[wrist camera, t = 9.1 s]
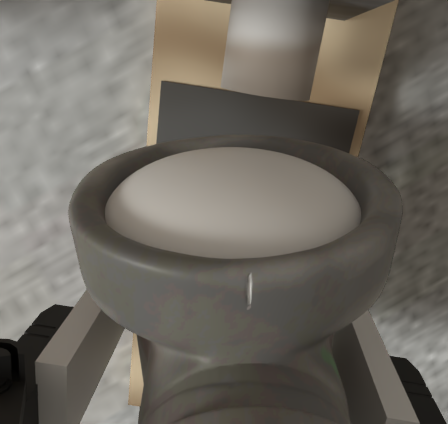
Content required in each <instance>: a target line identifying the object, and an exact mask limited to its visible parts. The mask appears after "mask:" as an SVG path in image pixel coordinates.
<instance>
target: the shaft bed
mask: <svg viewBox="0 0 448 424" xmlns="http://www.w3.org/2000/svg"><path fill="white" fill-rule="evenodd" d="M398 1H399V0H157V6H156V20H155V34H154V48H153V62H152V76H151V90H150V104H149V118H148V133H147V146H150V145H154V144H158V143H163V142H169V141H175V140H182V139H190V138H199V137H209V136H220V135H263V136H275V137H286V138H292V139H298V140H304V141H309V142H313V143H317V144H321V145H325V146H329V147H332V148H335V149H338V150H341V151H344V152H346V153H349V154H351V155H354V156H356V157H358V155H359V152H360V148H361V144H362V140H363V136H364V132H365V128H366V125H367V121H368V117H369V113H370V109H371V105H372V101H373V98H374V94H375V90H376V86H377V82H378V78H379V74H380V70H381V67H382V63H383V59H384V55H385V51H386V47H387V43H388V40H389V36H390V32H391V28H392V24H393V20H394V16H395V13H396V9H397V5H398ZM143 386H144V383H143V376H142V369H141V362H140V355H139V348H138V341H137V334H135V333H133V344H132V358H131V372H130V386H129V400H128V405H134V406H140V405H141V399H142V393H143Z"/></svg>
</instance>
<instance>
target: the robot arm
mask: <svg viewBox="0 0 448 424" xmlns="http://www.w3.org/2000/svg"><path fill="white" fill-rule="evenodd" d="M124 329H125V328H124V327H122V326H121V325H119V324H118V323H116V322H115V321H114V320H112V319H111V318H110V317H109V316H108V315H106V314H105V313H104V312H103V311H102V310H101V309H100V308H99V306H98V305H97V304H96V303H95V301H94V300H93V299H92V297H91V295H90V294H89V292H88V290H86V291H85V293H84V294H83V295H82V297H81V298H80V300H79V301H78V302H77V304H76V305H75V307H69V306H62V305H56V304H55V305H53V306H52V307H50V308H48V309H46V310H45V311H43V312H41V313H40V315H39V316H38V317H37V318H36V319H35V321H34V322H33V323H32V326H30V327H29V328H28V329H27V330H26V331H25V334H24V335H22V336H21V337H20V339H19V340H18V341H17V342H16V341H13V340H10V339H0V424H79V423H80V421H81V419H82V417H83V415H84V413H85V411H86V409H87V407H88V405H89V402H90V400H91V398H92V396H93V394H94V392H95V390H96V388H97V386H98V383H99V381H100V379H101V377H102V375H103V373H104V371H105V369H106V367H107V365H108V362H109V360H110V358H111V356H112V354H113V352H114V350H115V348H116V346H117V343H118V341H119V339H120V337H121V335H122V333H123V331H124ZM331 351H332V354H333V357H334V360H335V363H336V366H337V369H338V372H339V375H340V378H341V381H342V384H343V387H344V391H345V394H346V398H347V402H348V409H349V419H350V422H351V424H446V422H445V420H444V418H443V416H442V414H441V412H440V410H439V408H438V407H437V405H436V403H435V401H434V399H433V398H432V395H431V393H430V391H429V389H428V388H427V387H426V384H425V382H424V380H423V378H422V376H421V374H420V372H419V371H418V370H417V369H416V368H415V367H414V366H413V365H412V364H411V363H410V362H409V361H408V360H407V359H406V358H400V357H394V356H389V354H388V352H387V350H386V347H385V345H384V343H383V341H382V339H381V336H380V334H379V332H378V330H377V328H376V325H375V323H374V321H373V319H372V317H371V314H370V312H369V310H367V311H366V312H365V313H364V314H363V315H361V316H360V317H359V318H357V319H356V320H355V321H353V322H352V323H350V324H349V325H347V326H346V327H344V328H342V329H341V330H339V331H337V332H335V333H334V335H333V342H332V350H331Z"/></svg>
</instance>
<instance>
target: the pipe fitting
mask: <svg viewBox="0 0 448 424" xmlns="http://www.w3.org/2000/svg"><path fill="white" fill-rule="evenodd" d="M402 210H403V206H402V199H401V195H400V193H399V191H398V189H397V188H396V186H395V185H394V184H393V182H392V181H391V180H390V179H389V178H388V177H387V176H386V175H385V174H384V173H383V172H381V171H380V170H379V169H378V168H376V167H375V166H373V165H372V164H370V163H369V162H367V161H365V160H363V159H361V158H358V157H356V156H354V155H351V154H349V153H346V152H344V151H341V150H338V149H335V148H332V147H329V146H325V145H321V144H317V143H313V142H309V141H304V140H298V139H292V138H286V137H275V136H263V135H220V136H209V137H199V138H190V139H182V140H175V141H169V142H163V143H158V144H154V145H150V146H146V147H143V148H139V149H136V150H133V151H129V152H126V153H123V154H121V155H118V156H116V157H113V158H111V159H109V160H107V161H105V162H103V163H102V164H100V165H98V166H97V167H96V168H94V169H93V170H92V171H90V172H89V173H88V174H87V175H86V176H85V177H84V178H83V179H82V181H81V182H80V183H79V185H78V186H77V188H76V189H75V191H74V193H73V195H72V198H71V200H70V204H69V210H68V215H69V222H70V227H71V231H72V235H73V239H74V244H75V248H76V252H77V256H78V261H79V265H80V269H81V273H82V277H83V280H84V283H85V286H86V288H87V290H88V292H89V294H90V295H91V297H92V299H93V300H94V301H95V303H96V304H97V305H98V306H99V308H100V309H101V310H102V311H103V312H104V313H105V314H106V315H108V316H109V317H110V318H111V319H112V320H114V321H115V322H116V323H118V324H119V325H121V326H122V327H124V328H126V329H127V330H129V331H131V332H133V333H135V334H137V341H138V348H139V355H140V362H141V369H142V376H143V383H144V386H143V393H142V399H141V405H140V411H139V419H138V424H351V422H350V419H349V409H348V402H347V398H346V394H345V391H344V387H343V384H342V381H341V378H340V375H339V372H338V369H337V366H336V363H335V360H334V357H333V354H332V351H331V350H332V342H333V335H334V333H335V332H337V331H339V330H341V329H342V328H344V327H346V326H347V325H349V324H350V323H352V322H353V321H355V320H356V319H357V318H359V317H360V316H361V315H363V314H364V313H365V312H366V311H367V310H368V309H369V308H370V307H371V306H372V305H373V304H374V303H375V302H376V300H377V299H378V297H379V296H380V294H381V293H382V291H383V289H384V287H385V284H386V282H387V279H388V276H389V272H390V268H391V263H392V259H393V255H394V250H395V246H396V241H397V237H398V233H399V228H400V224H401V219H402Z"/></svg>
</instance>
